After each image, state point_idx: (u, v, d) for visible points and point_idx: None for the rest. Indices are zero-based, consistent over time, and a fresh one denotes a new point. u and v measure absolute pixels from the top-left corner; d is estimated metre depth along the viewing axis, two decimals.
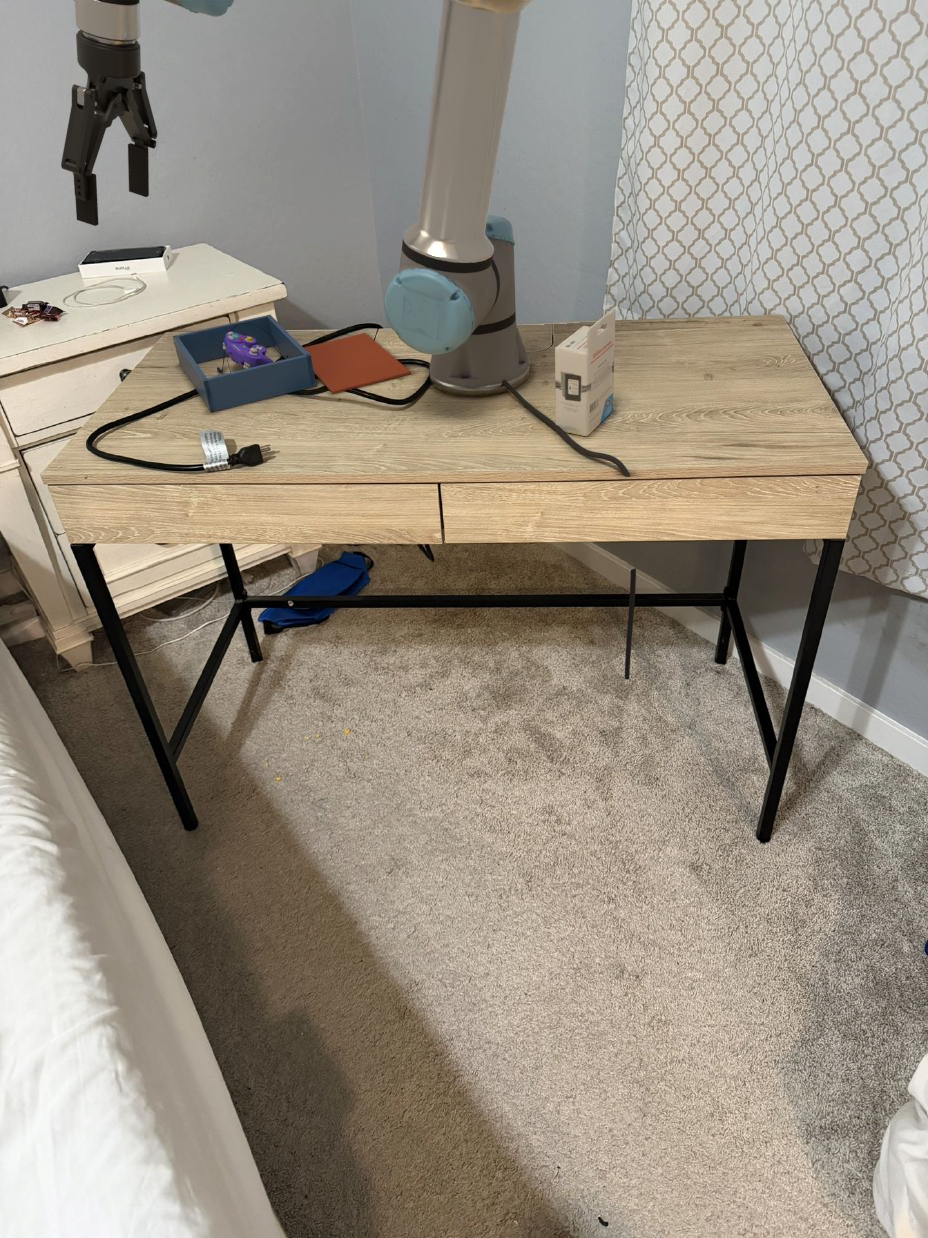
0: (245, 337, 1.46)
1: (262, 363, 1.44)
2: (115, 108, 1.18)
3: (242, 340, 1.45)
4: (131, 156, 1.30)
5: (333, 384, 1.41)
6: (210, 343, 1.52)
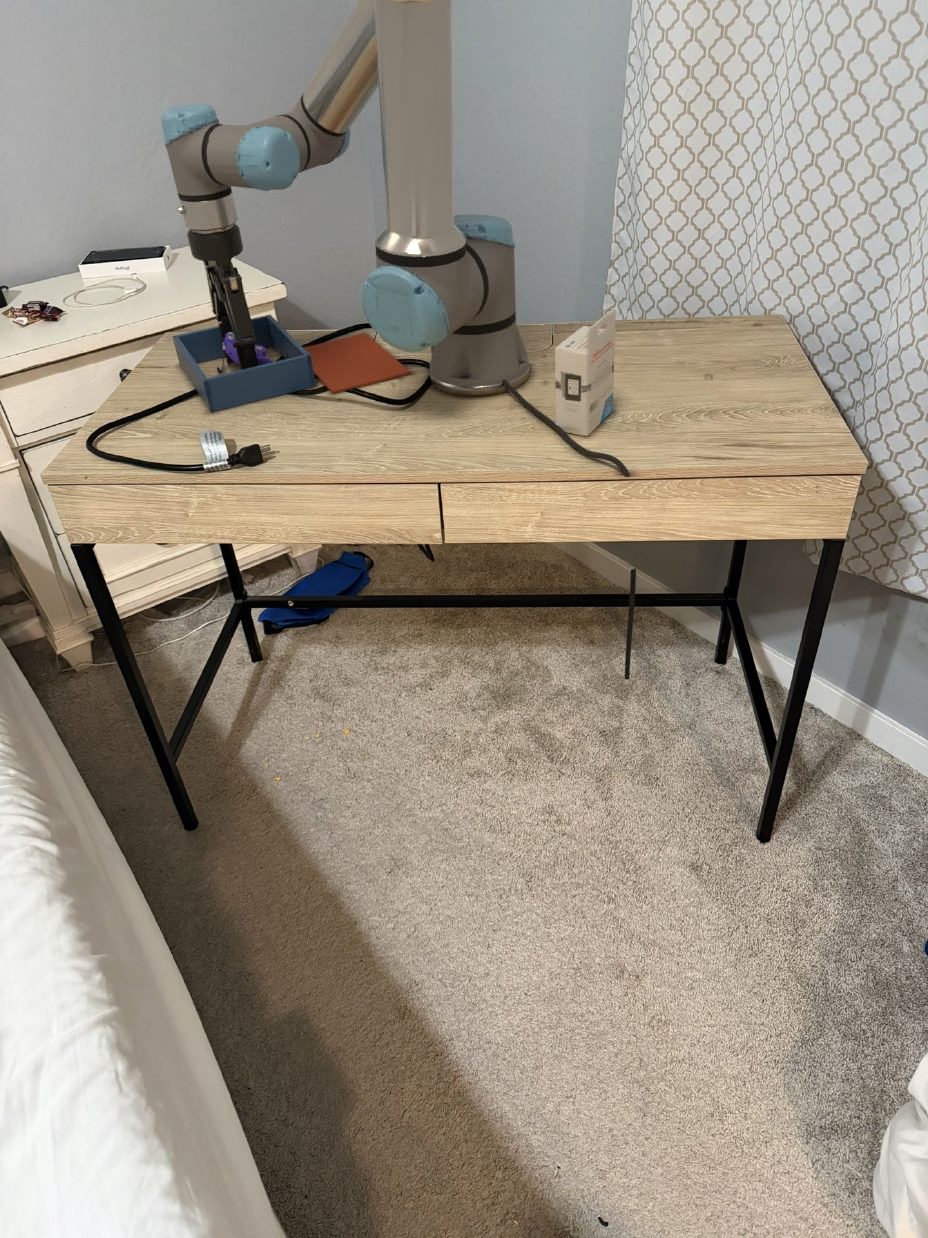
0: None
1: (262, 363, 1.44)
2: None
3: None
4: (224, 333, 1.47)
5: (333, 384, 1.41)
6: (210, 343, 1.52)
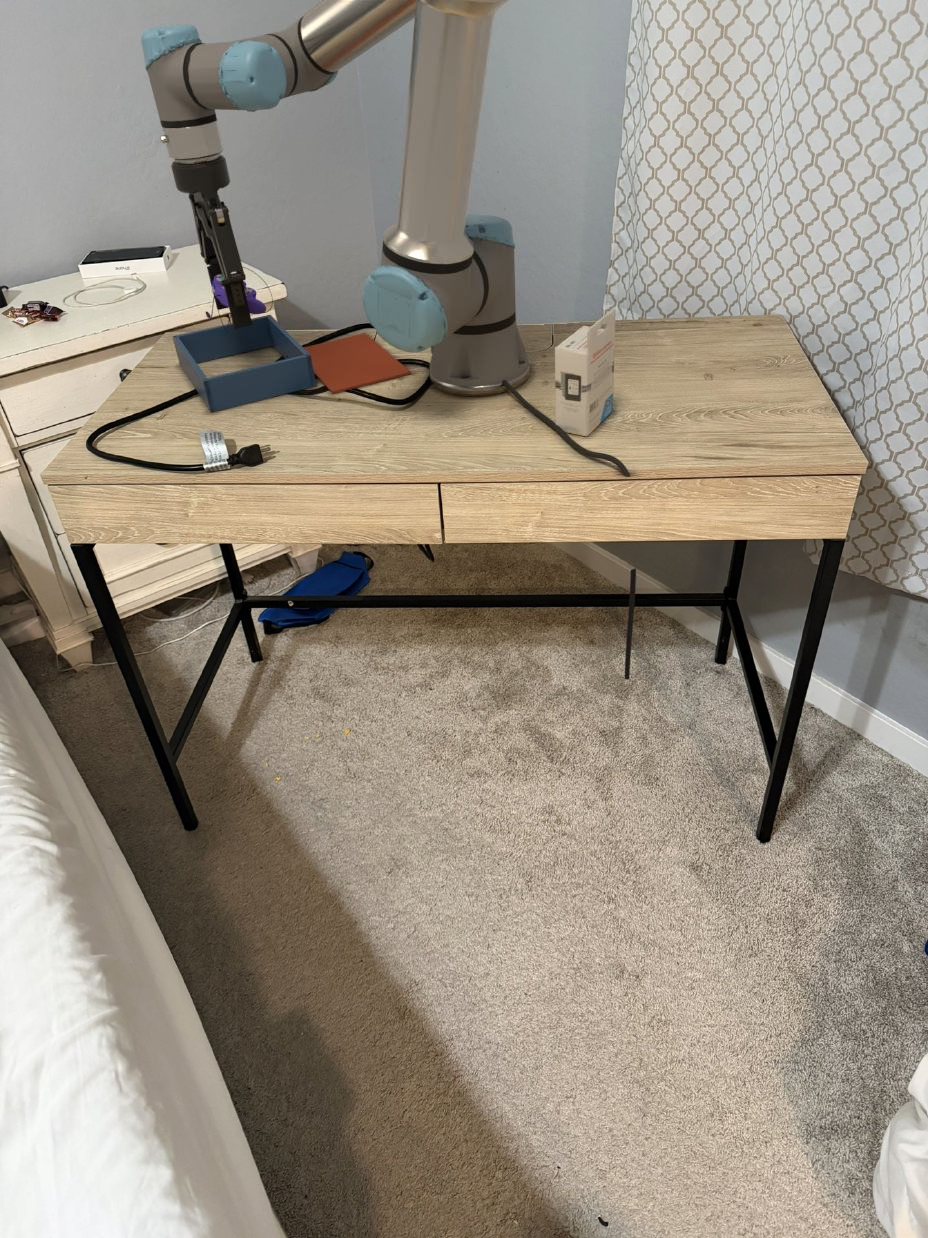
0: None
1: (252, 305, 1.38)
2: None
3: None
4: (213, 276, 1.41)
5: (333, 384, 1.41)
6: (210, 343, 1.52)
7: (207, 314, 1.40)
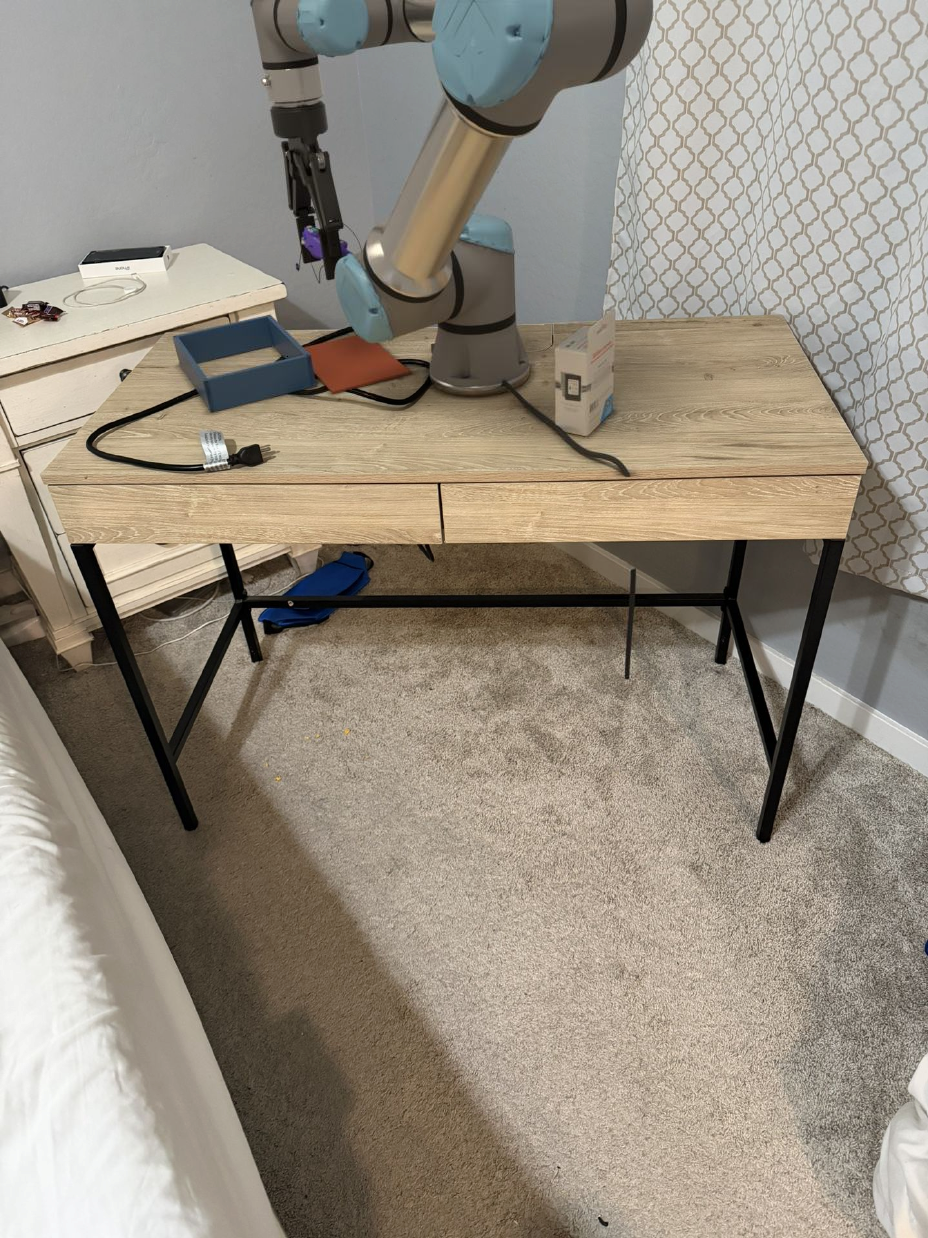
0: None
1: None
2: None
3: None
4: (302, 229, 1.39)
5: (333, 384, 1.41)
6: (210, 343, 1.52)
7: (297, 266, 1.37)
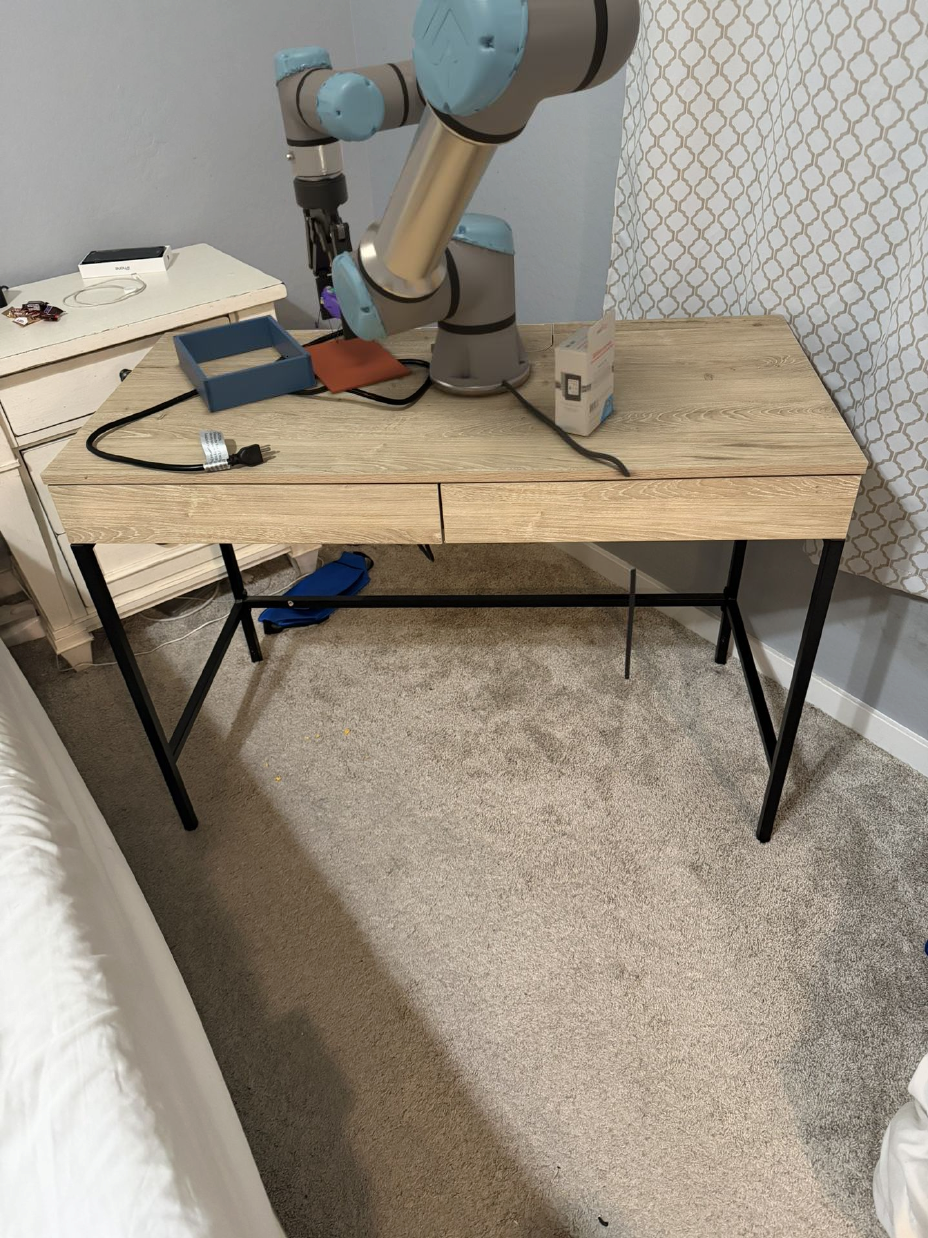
0: None
1: None
2: None
3: None
4: (321, 288, 1.45)
5: (333, 384, 1.41)
6: (210, 343, 1.52)
7: (316, 325, 1.43)
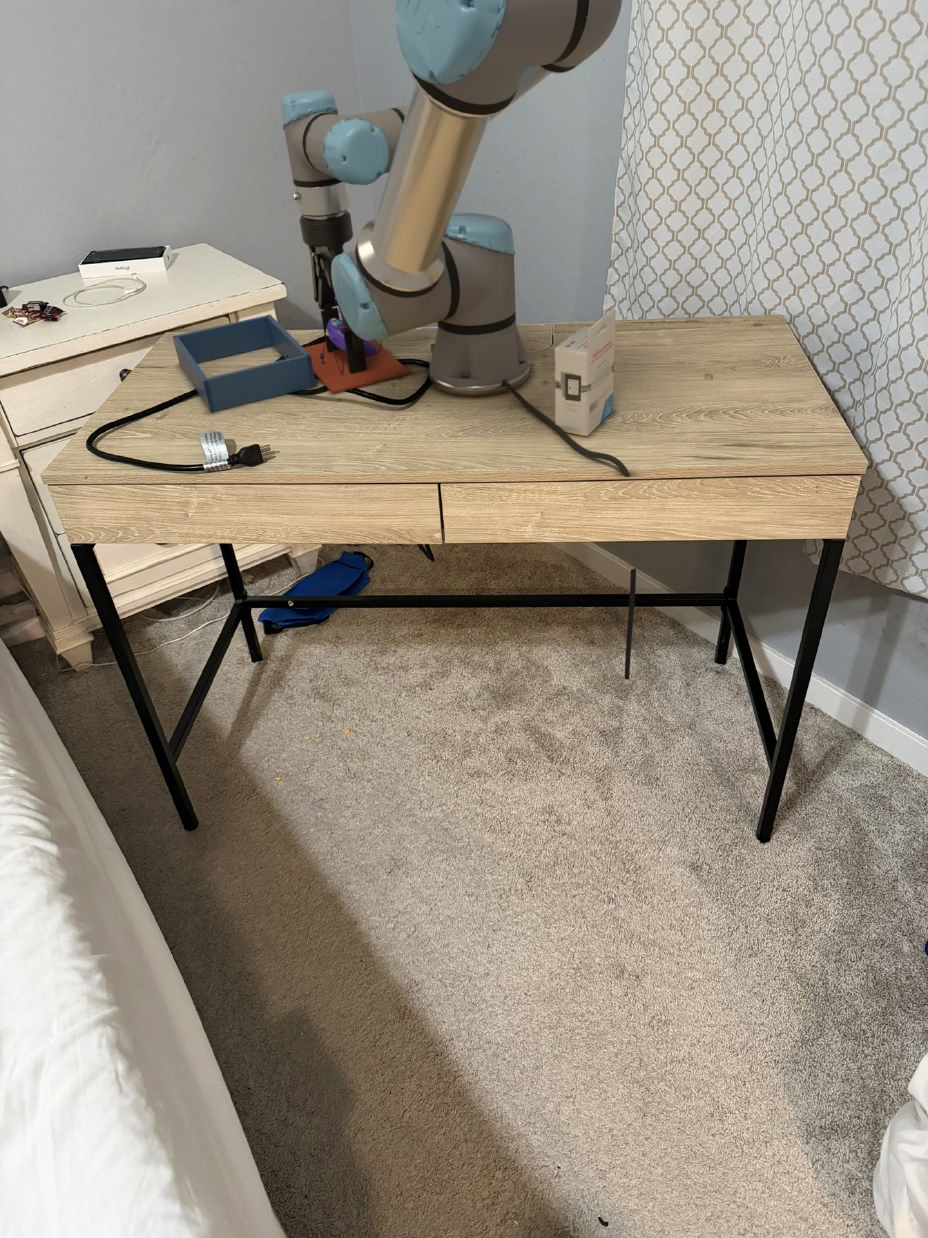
0: None
1: (366, 349, 1.44)
2: None
3: None
4: (326, 321, 1.48)
5: (333, 384, 1.41)
6: (210, 343, 1.52)
7: (321, 356, 1.46)
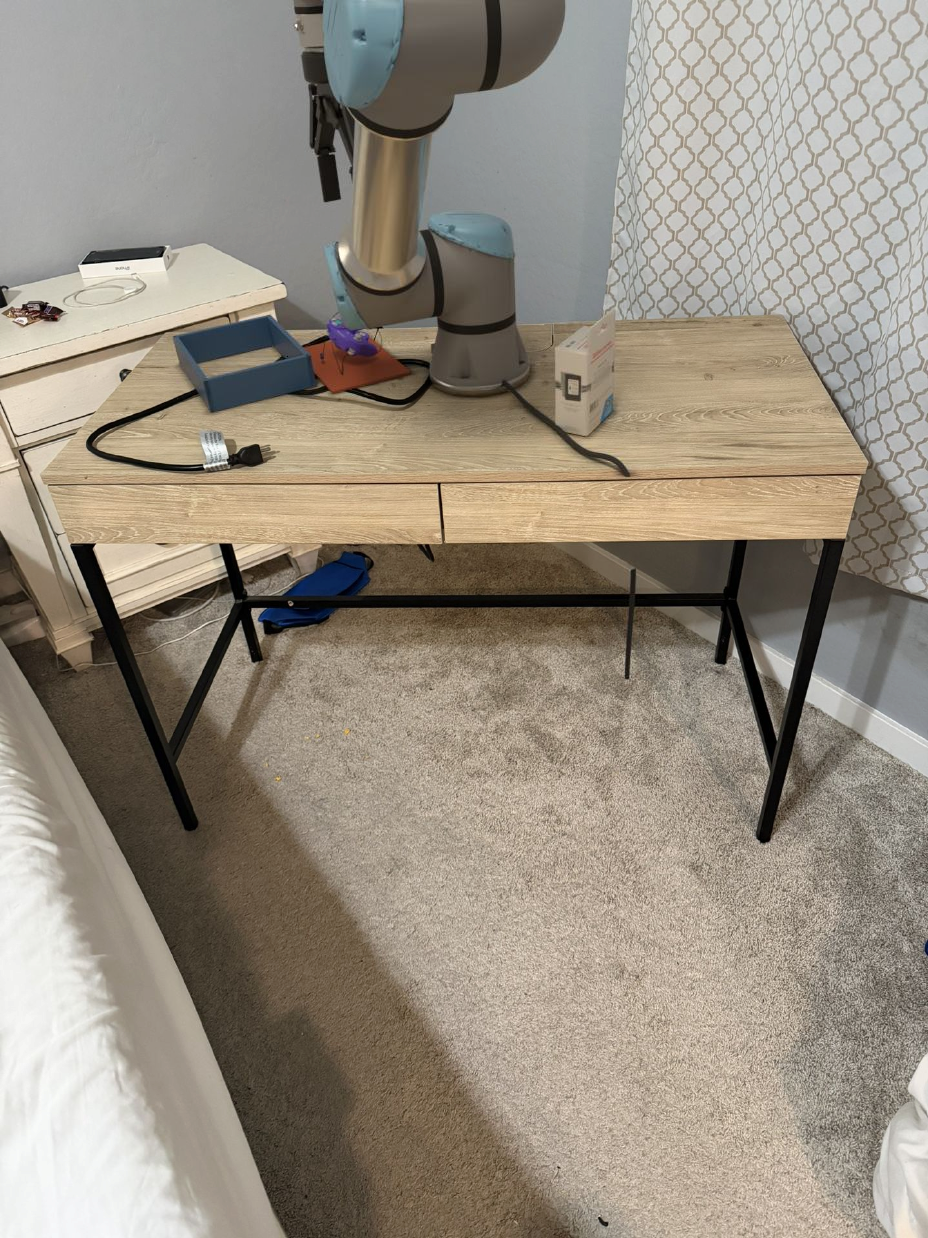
0: None
1: (366, 349, 1.44)
2: None
3: None
4: (323, 167, 1.42)
5: (333, 384, 1.41)
6: (210, 343, 1.52)
7: (321, 356, 1.46)
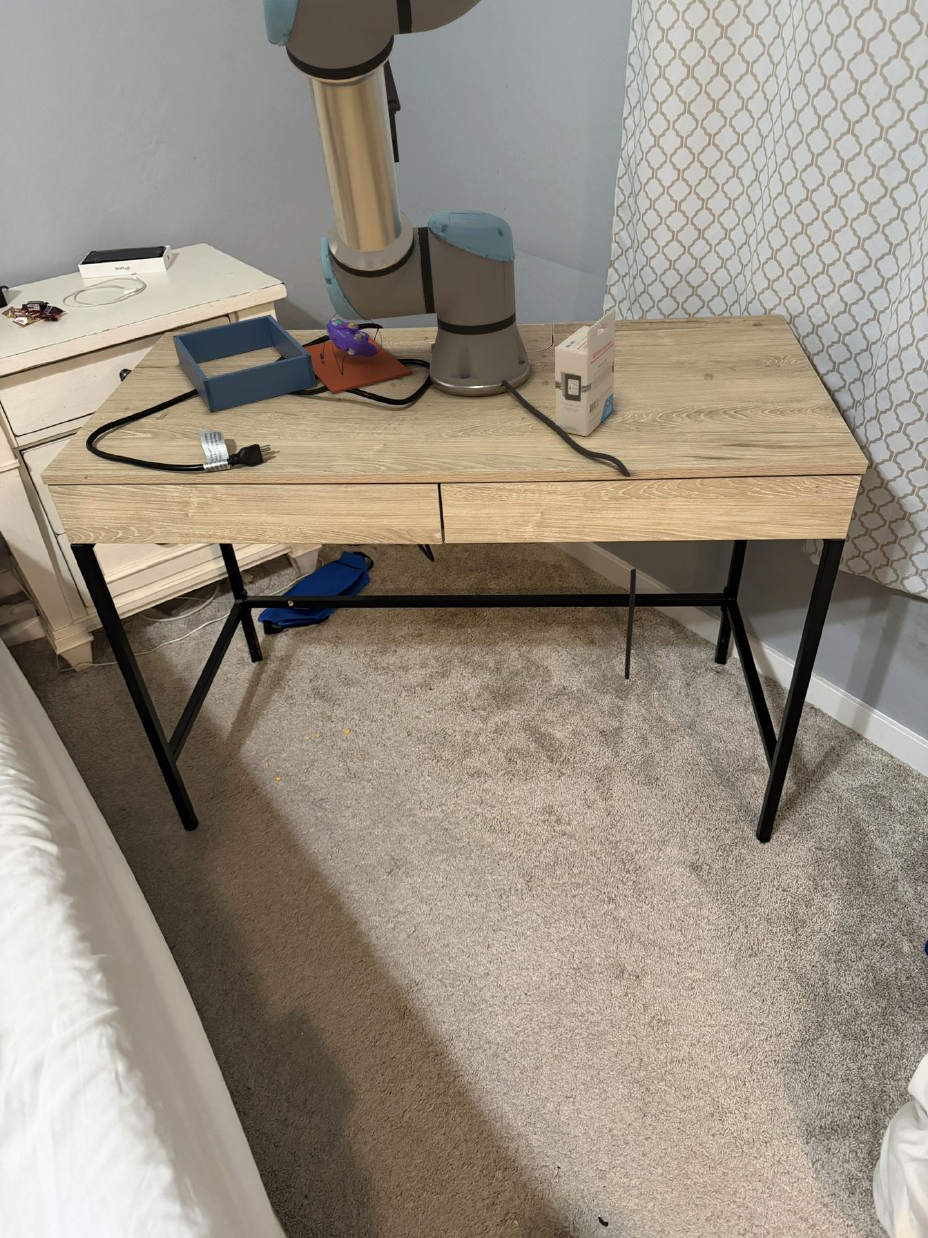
0: (347, 323, 1.47)
1: (366, 349, 1.44)
2: None
3: (345, 326, 1.46)
4: None
5: (333, 384, 1.41)
6: (210, 343, 1.52)
7: (321, 356, 1.46)
